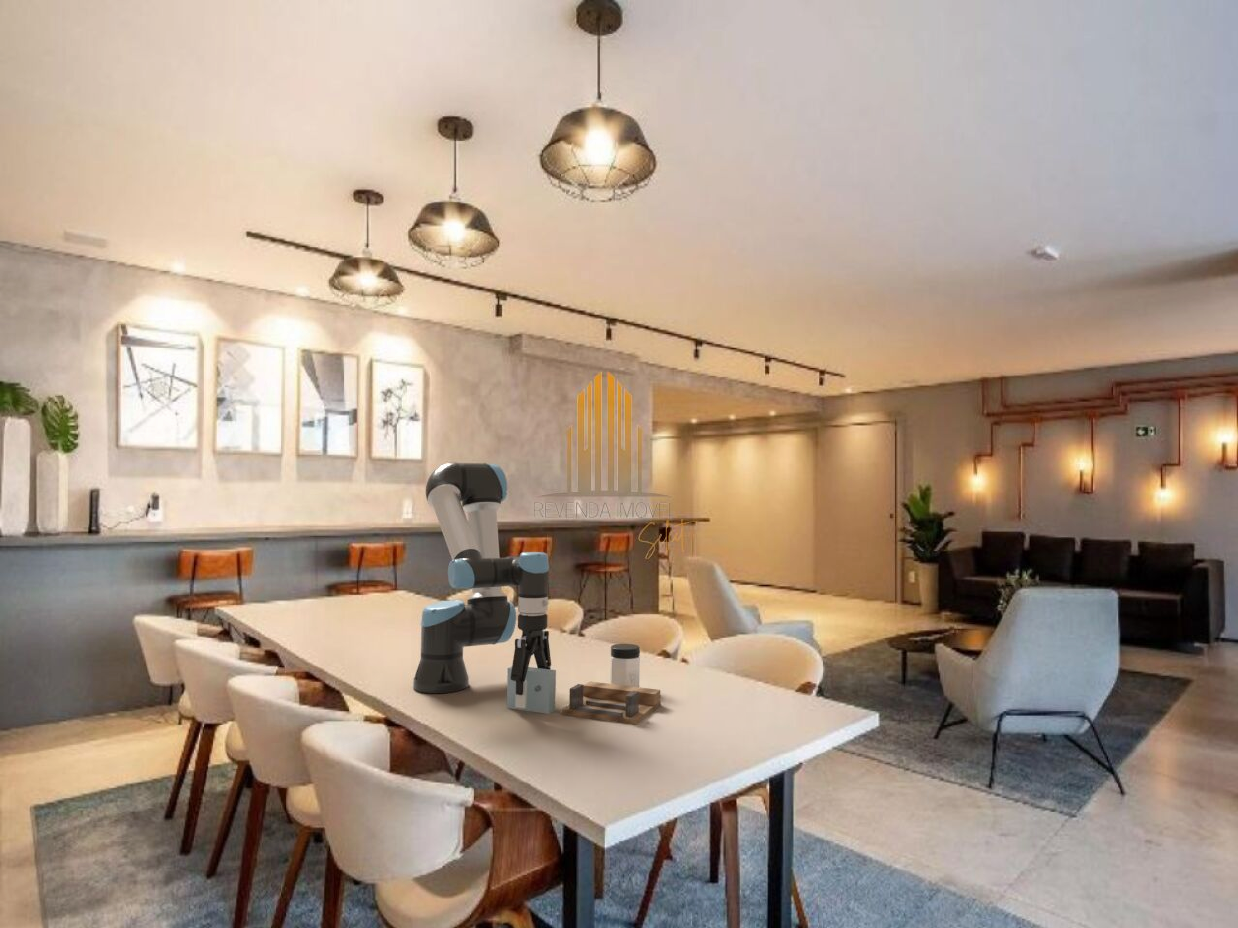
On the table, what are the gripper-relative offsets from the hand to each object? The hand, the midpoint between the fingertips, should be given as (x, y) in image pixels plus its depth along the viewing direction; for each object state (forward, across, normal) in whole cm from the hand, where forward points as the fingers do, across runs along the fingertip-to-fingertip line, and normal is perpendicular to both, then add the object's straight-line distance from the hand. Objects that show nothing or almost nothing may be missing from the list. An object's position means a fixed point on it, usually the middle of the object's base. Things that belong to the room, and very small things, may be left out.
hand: (531, 701), depth 183 cm
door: (+2, 0, 0) cm, 2 cm away
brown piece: (+2, +8, -19) cm, 21 cm away
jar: (+2, +27, -15) cm, 31 cm away
